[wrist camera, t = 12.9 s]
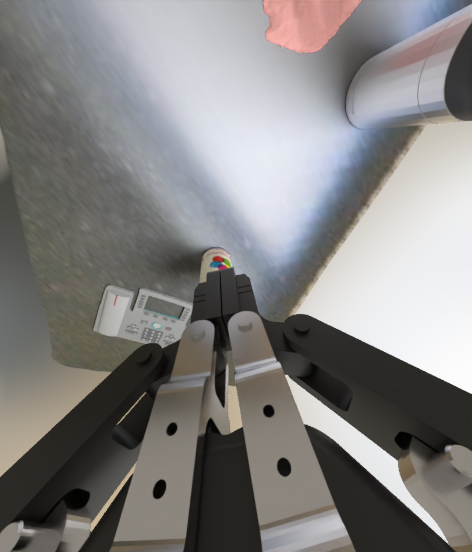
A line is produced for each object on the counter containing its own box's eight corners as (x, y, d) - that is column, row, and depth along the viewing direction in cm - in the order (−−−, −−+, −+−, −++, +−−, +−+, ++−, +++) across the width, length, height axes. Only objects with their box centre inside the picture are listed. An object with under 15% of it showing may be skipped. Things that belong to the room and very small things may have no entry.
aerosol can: (235, 253, 46) (248, 315, 30) (223, 276, 50) (228, 343, 33) (208, 242, 44) (204, 302, 28) (197, 267, 47) (188, 334, 31)
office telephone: (90, 335, 54) (102, 280, 45) (95, 327, 56) (107, 273, 47) (174, 354, 62) (199, 311, 52) (175, 347, 64) (200, 304, 55)
